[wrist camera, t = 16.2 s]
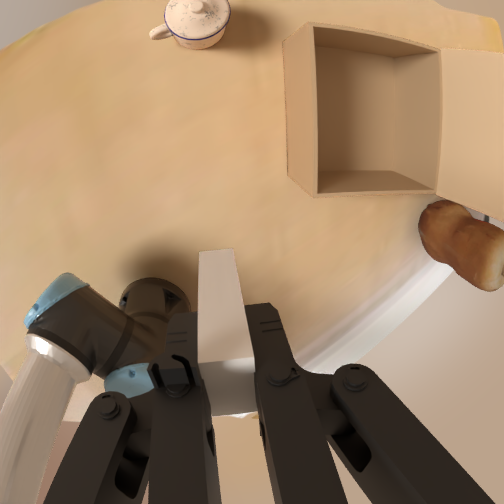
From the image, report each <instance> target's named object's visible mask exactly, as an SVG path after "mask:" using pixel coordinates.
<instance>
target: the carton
mask: <svg viewBox="0 0 504 504" xmlns="http://www.w3.org/2000/svg"><path fill="white" fill-rule="evenodd" d="M282 43H283V61H284V80H285V104H286V133H287V175H288V176H289V177H290V178H291V179H292V180H293V181H294V182H296V183H297V184H298V185H299V186H300V187H301V188H302V189H303V190H304V191H305V192H307V193H308V194H309V195H310V196H311V197H312V198H326V197H344V196H365V195H391V194H435V193H436V192H437V185H438V176H439V166H440V155H441V141H442V117H443V83H442V60H441V50H440V49H438V48H434V47H431V46H428V45H425V44H422V43H418V42H415V41H411V40H408V39H404V38H400V37H396V36H392V35H388V34H383V33H379V32H374V31H369V30H364V29H358V28H353V27H346V26H340V25H332V24H324V23H315V22H307V23H306V24H305V25H303V26H302V27H301V28H300V29H298V30H297V31H296V32H295V33H293V34H292V35H291V36H290V37H288V38H287V39H286V40H285V41H283V42H282Z"/></svg>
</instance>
